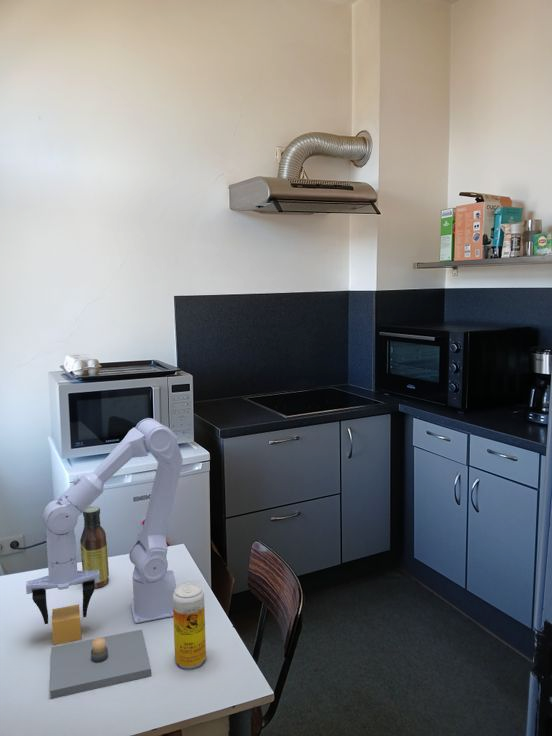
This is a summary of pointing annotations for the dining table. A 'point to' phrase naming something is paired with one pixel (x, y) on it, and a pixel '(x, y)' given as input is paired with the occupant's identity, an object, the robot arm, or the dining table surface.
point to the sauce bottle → (94, 545)
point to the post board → (98, 663)
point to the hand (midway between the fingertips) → (65, 618)
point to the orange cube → (66, 624)
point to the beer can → (189, 625)
